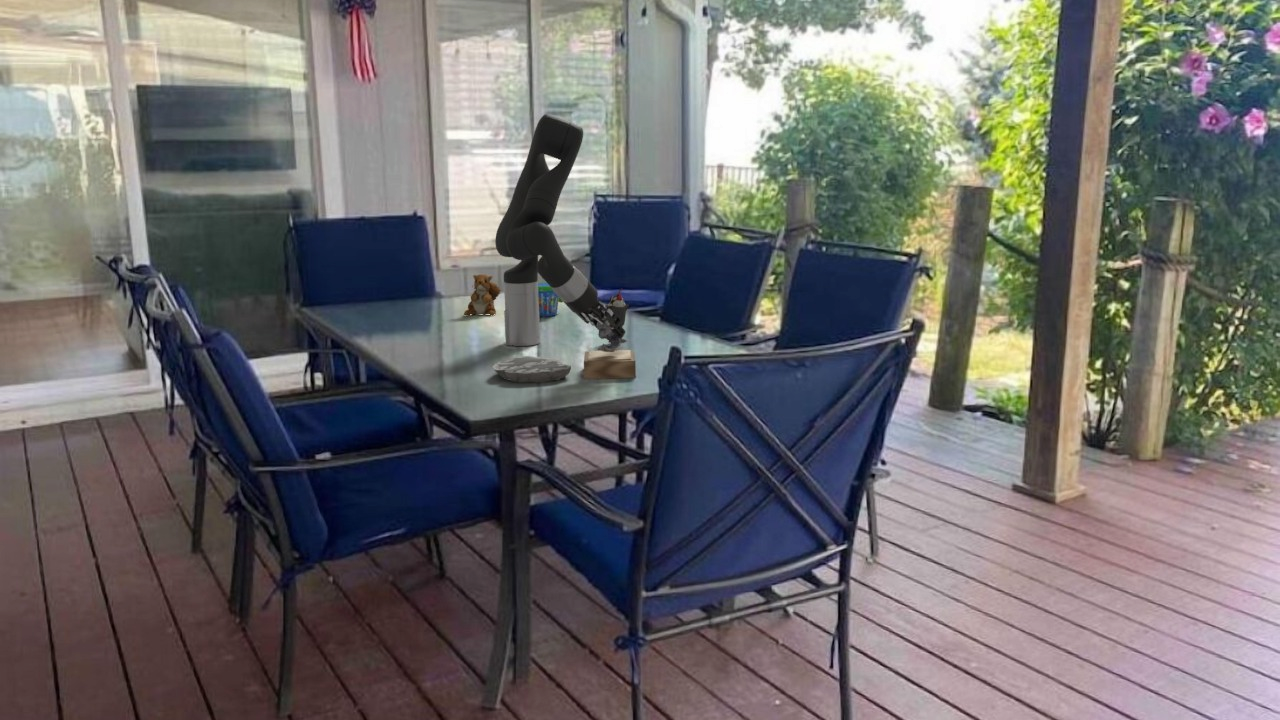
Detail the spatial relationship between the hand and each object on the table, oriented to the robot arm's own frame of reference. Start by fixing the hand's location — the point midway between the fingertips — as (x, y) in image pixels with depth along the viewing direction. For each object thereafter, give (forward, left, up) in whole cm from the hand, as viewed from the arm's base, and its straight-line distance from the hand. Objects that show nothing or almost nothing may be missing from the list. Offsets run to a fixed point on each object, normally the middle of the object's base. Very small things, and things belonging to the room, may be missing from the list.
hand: (614, 333), depth 230 cm
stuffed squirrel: (-43, +90, -9) cm, 100 cm away
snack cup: (-22, +83, -9) cm, 86 cm away
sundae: (+1, +37, -9) cm, 38 cm away
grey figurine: (-1, -1, -4) cm, 5 cm away
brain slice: (-20, -3, -10) cm, 23 cm away
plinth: (-1, -1, -9) cm, 9 cm away
